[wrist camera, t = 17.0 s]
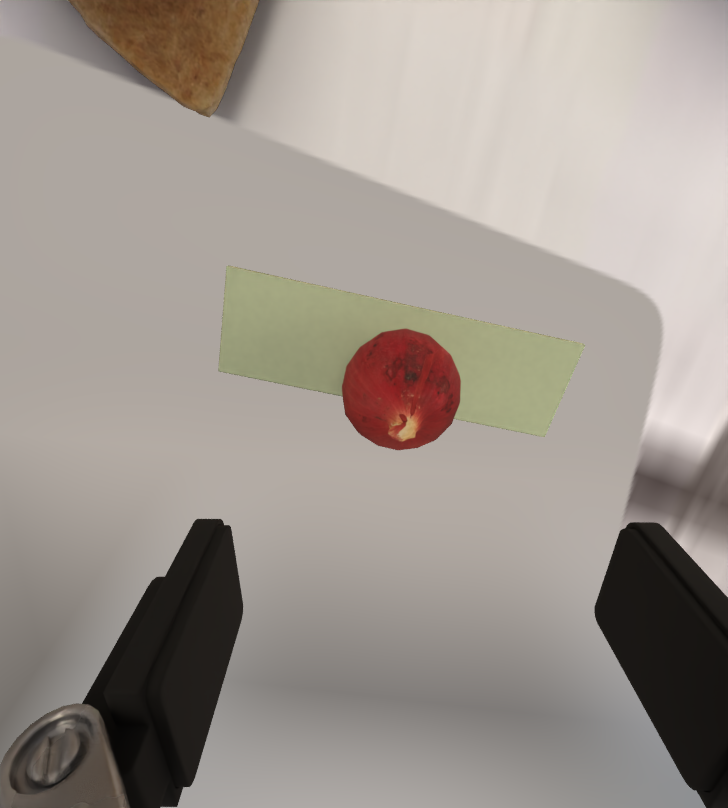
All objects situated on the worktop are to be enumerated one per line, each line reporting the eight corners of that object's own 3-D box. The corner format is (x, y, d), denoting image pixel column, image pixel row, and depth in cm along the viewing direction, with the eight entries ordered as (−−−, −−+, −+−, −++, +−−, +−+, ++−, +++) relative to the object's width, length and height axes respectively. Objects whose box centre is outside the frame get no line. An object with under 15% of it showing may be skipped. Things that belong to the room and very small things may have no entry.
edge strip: (219, 369, 25) (218, 371, 25) (227, 265, 23) (226, 265, 23) (543, 435, 27) (544, 437, 26) (583, 343, 24) (585, 345, 24)
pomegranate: (360, 302, 23) (355, 344, 16) (462, 329, 24) (501, 382, 16) (336, 398, 26) (322, 473, 18) (429, 421, 26) (451, 502, 19)
